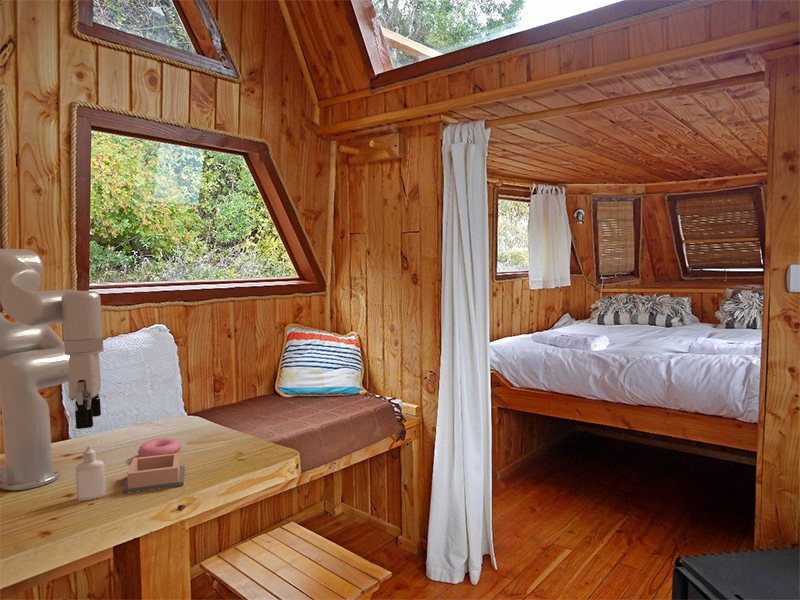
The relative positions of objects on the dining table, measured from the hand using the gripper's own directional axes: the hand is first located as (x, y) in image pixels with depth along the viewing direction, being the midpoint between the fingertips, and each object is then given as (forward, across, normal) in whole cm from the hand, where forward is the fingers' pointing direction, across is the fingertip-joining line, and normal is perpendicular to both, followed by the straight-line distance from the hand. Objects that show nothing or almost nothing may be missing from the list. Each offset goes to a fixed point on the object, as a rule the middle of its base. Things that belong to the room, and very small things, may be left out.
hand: (89, 421), depth 125 cm
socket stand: (+18, -6, +12) cm, 22 cm away
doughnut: (+18, -24, +12) cm, 32 cm away
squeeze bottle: (+18, -1, -1) cm, 18 cm away
